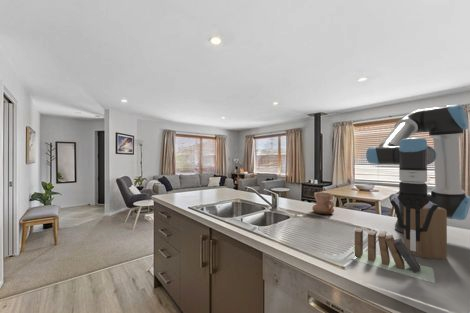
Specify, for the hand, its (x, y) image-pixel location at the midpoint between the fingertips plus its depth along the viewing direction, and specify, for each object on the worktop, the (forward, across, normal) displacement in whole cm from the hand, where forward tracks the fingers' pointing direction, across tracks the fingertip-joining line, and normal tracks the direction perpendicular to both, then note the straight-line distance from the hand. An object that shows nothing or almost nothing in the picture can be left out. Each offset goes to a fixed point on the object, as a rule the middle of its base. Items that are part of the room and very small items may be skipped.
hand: (412, 249), depth 74 cm
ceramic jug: (+8, -50, +60) cm, 78 cm away
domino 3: (+7, -3, 0) cm, 7 cm away
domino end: (+7, -17, 0) cm, 18 cm away
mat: (+7, -8, 0) cm, 11 cm away
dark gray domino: (+6, +1, 0) cm, 6 cm away
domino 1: (+7, -12, 0) cm, 14 cm away
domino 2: (+7, -8, 0) cm, 10 cm away
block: (+8, +3, +20) cm, 22 cm away
